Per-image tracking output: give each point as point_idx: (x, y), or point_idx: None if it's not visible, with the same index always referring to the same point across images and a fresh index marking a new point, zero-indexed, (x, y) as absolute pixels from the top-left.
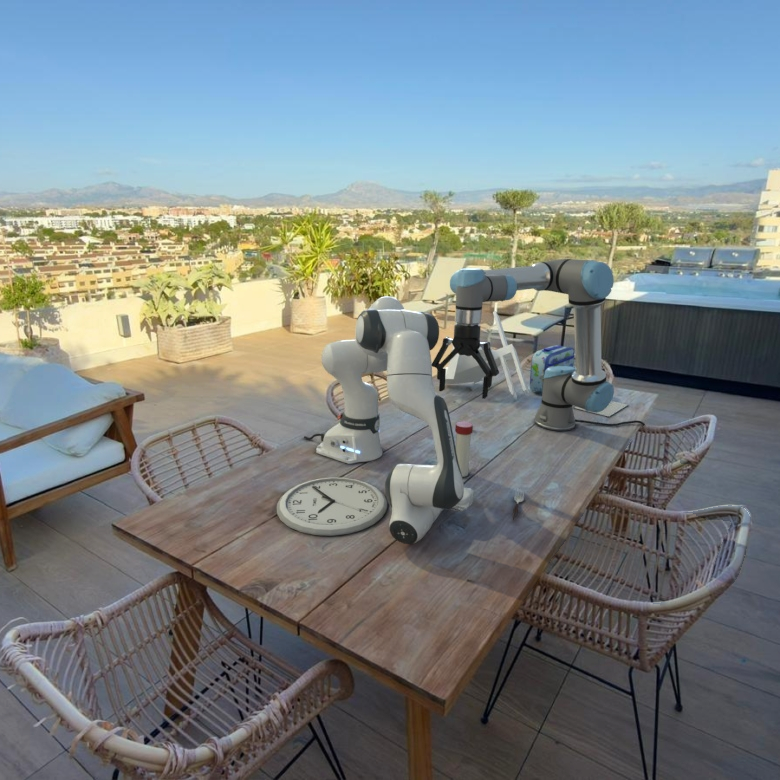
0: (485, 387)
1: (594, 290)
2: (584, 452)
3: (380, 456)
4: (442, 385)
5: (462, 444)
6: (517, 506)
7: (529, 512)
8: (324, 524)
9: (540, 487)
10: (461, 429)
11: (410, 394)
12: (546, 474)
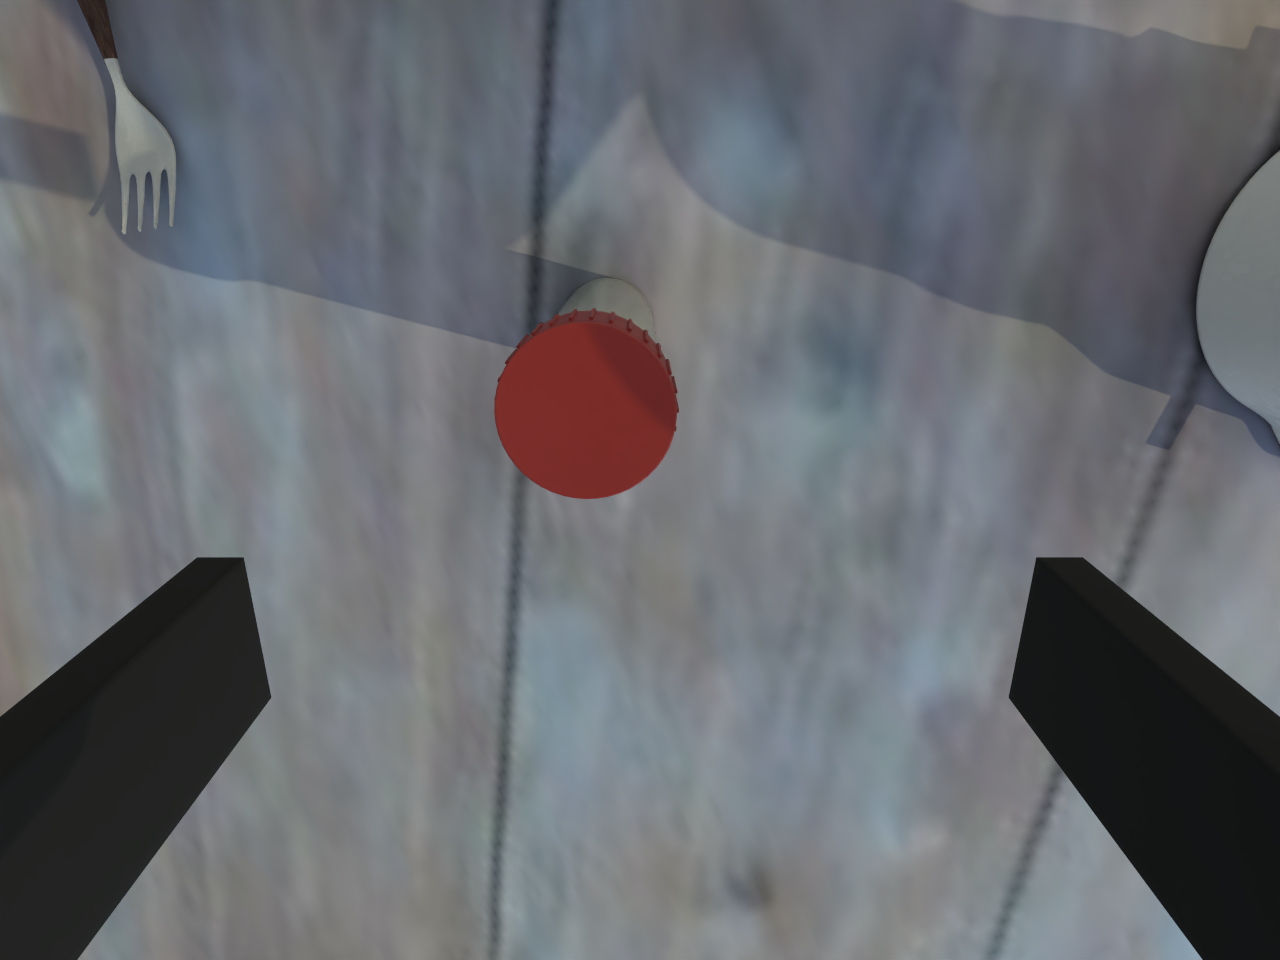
0: (41, 689)
1: None
2: (125, 905)
3: (1199, 279)
4: (1086, 650)
5: (577, 310)
6: (85, 11)
7: (21, 19)
8: None
9: (123, 392)
10: (580, 318)
11: None
12: (170, 569)
